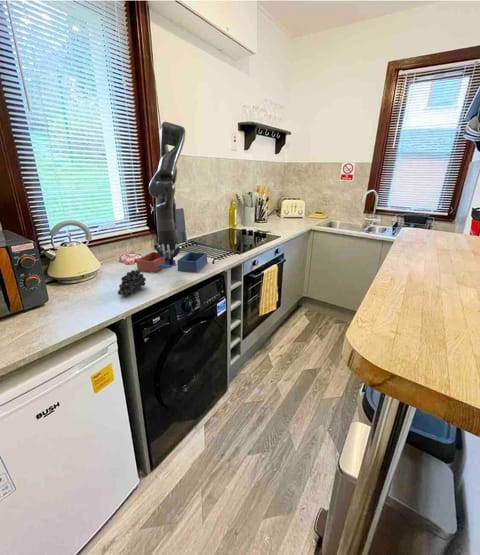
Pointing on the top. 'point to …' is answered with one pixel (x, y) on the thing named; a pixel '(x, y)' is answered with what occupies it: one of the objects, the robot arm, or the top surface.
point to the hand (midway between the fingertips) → (169, 265)
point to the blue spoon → (166, 265)
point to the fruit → (131, 282)
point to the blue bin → (192, 262)
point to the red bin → (150, 262)
